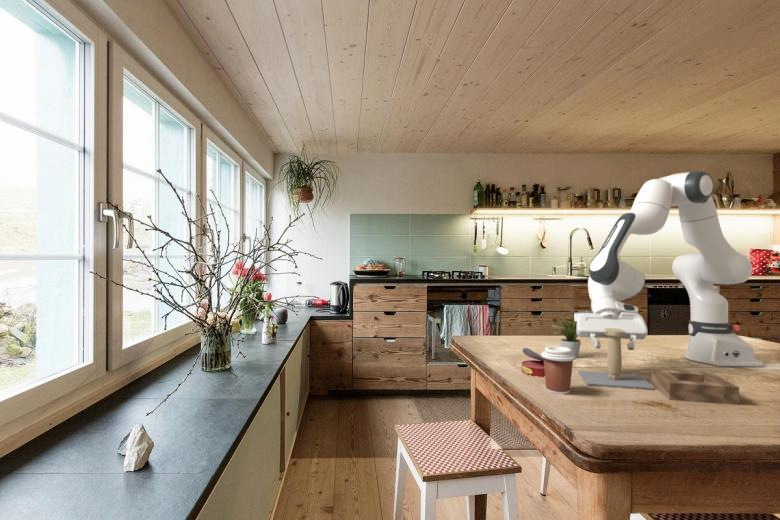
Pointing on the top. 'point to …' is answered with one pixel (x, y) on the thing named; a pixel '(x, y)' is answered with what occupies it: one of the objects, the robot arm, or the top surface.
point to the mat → (624, 380)
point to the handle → (614, 352)
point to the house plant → (569, 335)
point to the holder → (695, 386)
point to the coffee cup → (558, 368)
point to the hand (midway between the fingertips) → (614, 348)
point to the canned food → (533, 364)
